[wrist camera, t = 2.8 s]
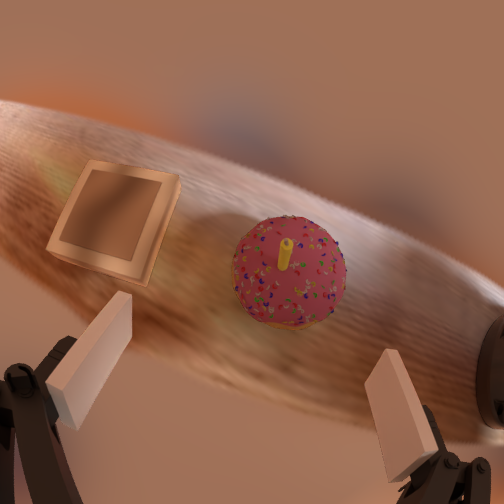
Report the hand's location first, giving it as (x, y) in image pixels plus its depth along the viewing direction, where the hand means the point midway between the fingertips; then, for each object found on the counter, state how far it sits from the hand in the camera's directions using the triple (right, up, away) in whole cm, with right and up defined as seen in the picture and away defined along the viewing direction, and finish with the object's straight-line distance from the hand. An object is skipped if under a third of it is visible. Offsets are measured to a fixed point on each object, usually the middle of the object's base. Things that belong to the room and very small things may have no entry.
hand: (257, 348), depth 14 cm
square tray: (-13, +7, +12) cm, 19 cm away
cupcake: (+2, +2, +12) cm, 12 cm away
